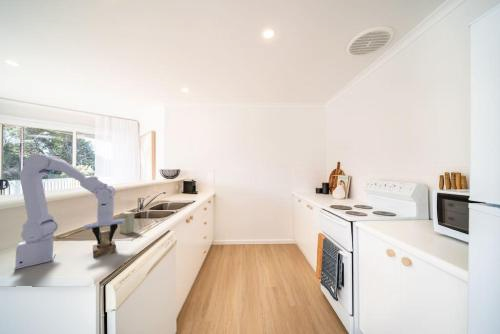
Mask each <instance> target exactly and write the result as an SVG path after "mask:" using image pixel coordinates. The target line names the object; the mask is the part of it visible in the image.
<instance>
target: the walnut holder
mask: <svg viewBox="0 0 500 334" xmlns="http://www.w3.org/2000/svg"><path fill="white" fill-rule="evenodd" d="M116 252H117V244H116V242H115V240H112V241H111V242H110V246H108V247H104V248H99V244H97V243H96V244H93V245H92V254H93V255H92V256H93V258H98V257H102V256H106V255H109V254H113V253H116Z"/></svg>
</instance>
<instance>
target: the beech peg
mask: <svg viewBox="0 0 500 334" xmlns="http://www.w3.org/2000/svg"><path fill="white" fill-rule="evenodd" d="M99 238H100V244H99V248H104V247H108V246H110V229H108V230H107V229H105V230H102V231H101V230H100V235H99Z"/></svg>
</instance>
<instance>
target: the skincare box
mask: <svg viewBox="0 0 500 334" xmlns="http://www.w3.org/2000/svg"><path fill="white" fill-rule="evenodd" d="M120 219H125V224H119V225H120V226H119V233H120V234H125V235H128V234H130V233H134V230H135V229H134V228H135V225H134V224H135V211H127V210H126V211H123V212H122V211H121V212H120Z"/></svg>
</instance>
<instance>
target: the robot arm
mask: <svg viewBox="0 0 500 334" xmlns="http://www.w3.org/2000/svg"><path fill="white" fill-rule="evenodd" d="M23 164H24V165H23V167H22V169H21V171H20V173H19V179H20V184H21V189H22V195H23V200H24V205H25V210H26V216H27V218H26V220H25V222H23V223H22V231H21V234H20V237H21V239H22V240H23V241H22V242H18V243H17V246H16V249H15V265H14V270H18V269H21V268H27V267H31V266H35V265H40V264H45V263H48V262H53V261H54V258H55V256H56V252H54V236H55V235H54V233H55V232H56V231H58V228H59V224H58V223H57V221H55V218H54V216H53V215H52V214H49V210H48V204H47V199H46V194H45V189H44V183H43V178H44V177H45V176H46V175H47V174H49V173H51V172H53V171H56V172H57V171H58V172H62V173H63V174H65V175H67V176H69V177H70V178H72V179H74V180H76V181H78V182H79V186H80V187H82V188H83V189H85V190H87V191H89V192H90V193H92V194H94V196H95V198H96V199H97V213H96V214H97V216H96V222H93V223H88V224H83V227H82V229H83V231H88V230H91V231H92V233H93V235H94V236H95V239H96V241H97V243H96V245H97V244H100V232H101V230H100V228H103V227H109V230H110V242H111V241H113V238H114V235H115V232H116V231H117V229H118V225H120V224H125V219H121V218H120V219H114V208H115V207H114V206H115V205H114V203H115V202H114V199H115V198H114V197H115V195H116V193H117V191H116V188H114V187H113V186H110V185H108V184H107V183H104V182H103V181H101V180H100V179H99V177H98V176H93V175H88V176H87V174H84V173H83V172H82V171H80V170H78V169H77V168H76V167H74V166H73V165H72V164H70V163H69V162H67V161H66V160H64V159H62V158H60V157H59V156H57V155H49V154H42V153H34V154H30V155H29V156H27V157H26V158H25V159H23Z"/></svg>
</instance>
